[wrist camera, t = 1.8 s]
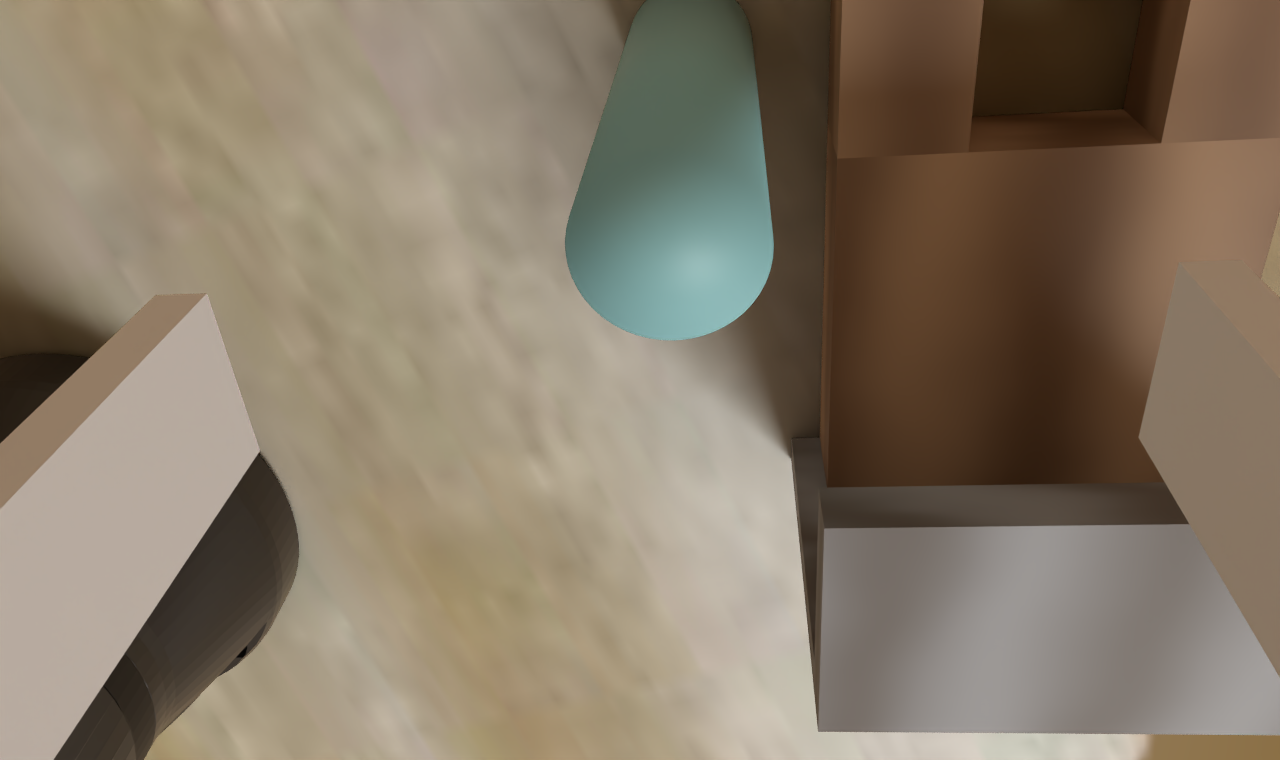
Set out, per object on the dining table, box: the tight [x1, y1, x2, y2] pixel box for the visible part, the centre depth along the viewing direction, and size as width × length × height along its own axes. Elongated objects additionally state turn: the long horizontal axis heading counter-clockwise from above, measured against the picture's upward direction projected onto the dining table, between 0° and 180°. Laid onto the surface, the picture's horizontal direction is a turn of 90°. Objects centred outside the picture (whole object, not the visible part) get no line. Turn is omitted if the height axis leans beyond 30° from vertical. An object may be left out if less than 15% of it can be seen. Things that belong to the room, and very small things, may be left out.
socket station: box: [791, 0, 1280, 735], centre depth 26 cm, size 14×20×12 cm
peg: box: [565, 0, 774, 340], centre depth 23 cm, size 4×4×14 cm
